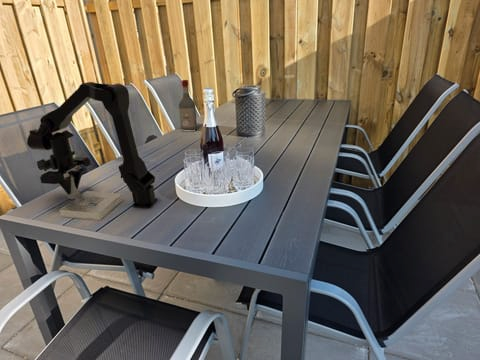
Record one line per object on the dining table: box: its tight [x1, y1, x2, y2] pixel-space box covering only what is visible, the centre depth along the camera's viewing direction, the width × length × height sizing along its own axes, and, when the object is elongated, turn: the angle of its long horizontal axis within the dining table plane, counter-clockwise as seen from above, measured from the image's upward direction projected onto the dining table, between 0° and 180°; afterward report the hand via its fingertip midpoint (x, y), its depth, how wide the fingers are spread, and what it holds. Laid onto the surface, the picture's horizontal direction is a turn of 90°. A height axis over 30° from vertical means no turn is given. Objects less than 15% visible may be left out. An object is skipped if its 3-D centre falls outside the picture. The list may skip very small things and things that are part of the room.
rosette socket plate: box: [59, 190, 124, 221], centre depth 107 cm, size 14×14×2 cm
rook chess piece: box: [65, 174, 81, 200], centre depth 114 cm, size 4×4×8 cm
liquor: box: [178, 79, 198, 130], centre depth 194 cm, size 9×9×30 cm
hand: (72, 191), depth 115 cm, fingers closed on rook chess piece, 3 cm apart
